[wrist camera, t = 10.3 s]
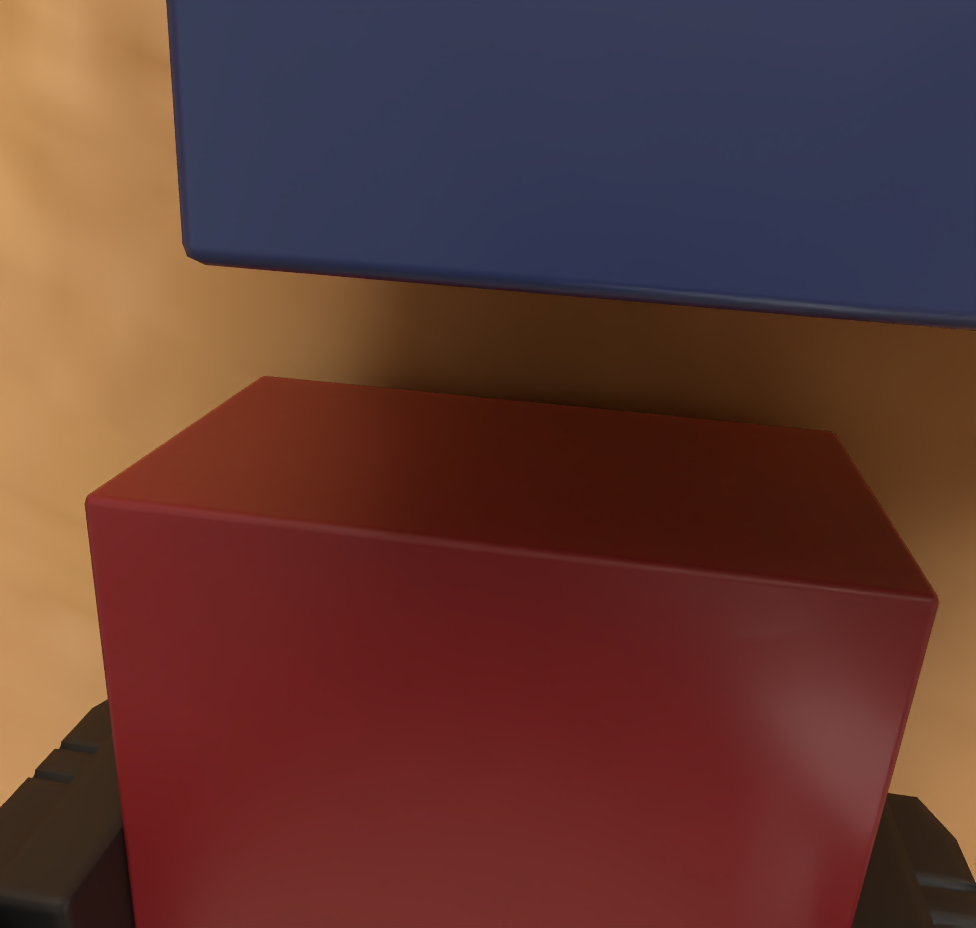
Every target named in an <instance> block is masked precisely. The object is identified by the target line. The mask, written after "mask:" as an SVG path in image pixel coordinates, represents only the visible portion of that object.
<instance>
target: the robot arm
mask: <svg viewBox="0 0 976 928" xmlns="http://www.w3.org/2000/svg"><path fill="white" fill-rule="evenodd" d="M0 928H135V921H134V913H133V905H132V896H131V888H130V879H129V871H128V863H127V854H126V846H125V838H124V829H123V821H122V812H121V804H120V796H119V787H118V779H117V771H116V762H115V754H114V746H113V737H112V729H111V720H110V712H109V704H108V700H106V701H104V702H102V703H101V704H99V705H97V706H96V707H94V708H92V709H91V710H90V711H89V712H88V713H87V715H86V716H85V717H84V718H83V719H82V720H81V721H80V722H79V723H78V724H77V725H76V726H75V728H74V729H73V730H72V731H71V732H70V733H69V734H68V735H67V736H66V737H65V738H64V739H63V740H62V742H61V746H60V748H59V749H54V750H53V751H52V752H51V753H50V755H49V756H48V757H47V758H46V759H45V760H44V761H43V762H42V763H41V764H40V765H39V766H38V767H37V769H36V770H35V775H34V777H33V778H29V777H28V778H27V779H26V780H25V782H24V783H23V784H22V785H21V786H20V787H19V788H18V789H17V790H16V791H15V792H14V793H13V795H12V796H11V797H10V798H9V799H8V800H7V801H6V802H5V803H4V804H3V805H2V806H1V807H0ZM851 928H976V883H975V881H974V878H973V876H972V874H971V872H970V869H969V867H968V865H967V863H966V860H965V858H964V856H963V854H962V851H961V849H960V847H959V845H958V842H957V840H956V839H955V837H954V836H953V835H952V834H951V833H950V832H949V831H948V830H947V829H946V828H945V827H944V826H943V825H942V824H941V822H940V821H939V820H938V819H937V818H936V817H935V816H934V815H933V814H932V813H931V812H930V811H929V810H928V809H927V807H926V806H925V805H924V804H923V803H922V802H921V801H920V800H919V799H918V798H917V797H911V796H905V795H898V794H891V793H887V797H886V801H885V804H884V808H883V812H882V815H881V819H880V823H879V827H878V830H877V834H876V838H875V841H874V845H873V849H872V852H871V856H870V860H869V864H868V867H867V871H866V875H865V878H864V882H863V886H862V889H861V893H860V897H859V901H858V904H857V908H856V912H855V915H854V919H853V923H852V927H851Z"/></svg>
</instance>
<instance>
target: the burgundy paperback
mask: <svg viewBox="0 0 976 928" xmlns="http://www.w3.org/2000/svg"><path fill="white" fill-rule="evenodd" d="M85 511H86V519H87V528H88V536H89V545H90V553H91V561H92V570H93V578H94V586H95V595H96V603H97V612H98V620H99V628H100V637H101V645H102V653H103V662H104V670H105V679H106V687H107V695H108V704H109V712H110V720H111V729H112V737H113V746H114V754H115V762H116V771H117V779H118V787H119V796H120V804H121V812H122V821H123V829H124V838H125V846H126V854H127V863H128V871H129V879H130V888H131V896H132V905H133V913H134V921H135V928H851V927H852V923H853V919H854V915H855V912H856V908H857V904H858V901H859V897H860V893H861V889H862V886H863V882H864V878H865V875H866V871H867V867H868V864H869V860H870V856H871V852H872V849H873V845H874V841H875V838H876V834H877V830H878V827H879V823H880V819H881V815H882V812H883V808H884V804H885V801H886V797H887V793H888V789H889V786H890V782H891V778H892V775H893V771H894V767H895V764H896V760H897V756H898V752H899V749H900V745H901V741H902V738H903V734H904V730H905V727H906V723H907V719H908V715H909V712H910V708H911V704H912V701H913V697H914V693H915V689H916V686H917V682H918V678H919V675H920V671H921V667H922V664H923V660H924V656H925V652H926V649H927V645H928V641H929V638H930V634H931V630H932V627H933V623H934V619H935V615H936V612H937V608H938V604H939V600H938V596H937V594H936V592H935V591H934V589H933V588H932V586H931V584H930V583H929V581H928V580H927V578H926V577H925V575H924V573H923V572H922V570H921V569H920V567H919V565H918V564H917V562H916V561H915V559H914V558H913V556H912V554H911V553H910V551H909V550H908V548H907V546H906V545H905V543H904V542H903V540H902V539H901V537H900V535H899V534H898V532H897V531H896V529H895V527H894V526H893V524H892V523H891V521H890V520H889V518H888V516H887V515H886V513H885V512H884V510H883V508H882V507H881V505H880V504H879V502H878V501H877V499H876V497H875V496H874V494H873V493H872V491H871V489H870V488H869V486H868V485H867V483H866V482H865V480H864V478H863V477H862V475H861V474H860V472H859V470H858V469H857V467H856V466H855V464H854V463H853V461H852V459H851V458H850V456H849V455H848V453H847V451H846V450H845V448H844V447H843V445H842V444H841V442H840V440H839V439H838V437H837V436H836V434H835V433H833V432H831V431H821V430H811V429H801V428H791V427H780V426H770V425H760V424H750V423H739V422H729V421H719V420H709V419H699V418H688V417H678V416H668V415H658V414H647V413H637V412H627V411H617V410H606V409H596V408H586V407H576V406H566V405H555V404H545V403H535V402H525V401H514V400H504V399H494V398H484V397H473V396H463V395H453V394H443V393H432V392H422V391H412V390H402V389H392V388H381V387H371V386H361V385H351V384H340V383H330V382H320V381H310V380H299V379H289V378H279V377H269V376H264V377H261V378H259V379H258V380H256V381H255V382H253V383H252V384H251V385H249V386H248V387H246V388H245V389H243V390H242V391H240V392H239V393H237V394H236V395H234V396H233V397H231V398H230V399H228V400H227V401H226V402H224V403H223V404H221V405H220V406H218V407H217V408H215V409H214V410H212V411H211V412H209V413H208V414H206V415H205V416H204V417H202V418H201V419H199V420H198V421H196V422H195V423H193V424H192V425H190V426H189V427H187V428H186V429H184V430H183V431H182V432H180V433H179V434H177V435H176V436H174V437H173V438H171V439H170V440H168V441H167V442H165V443H164V444H162V445H161V446H159V447H158V448H157V449H155V450H154V451H152V452H151V453H149V454H148V455H146V456H145V457H143V458H142V459H140V460H139V461H137V462H136V463H135V464H133V465H132V466H130V467H129V468H127V469H126V470H124V471H123V472H121V473H120V474H118V475H117V476H115V477H114V478H112V479H111V480H110V481H108V482H107V483H105V484H104V485H102V486H101V487H99V488H98V489H96V490H95V491H93V492H92V493H90V494H89V495H88V496H87V498H86V501H85Z"/></svg>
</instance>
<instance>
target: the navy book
mask: <svg viewBox="0 0 976 928" xmlns="http://www.w3.org/2000/svg"><path fill="white" fill-rule="evenodd" d="M166 3H167V18H168V33H169V49H170V64H171V79H172V94H173V109H174V124H175V139H176V154H177V169H178V184H179V199H180V214H181V229H182V244H183V246H184V249H185V252H186V254H187V256H188V257H190V258H192V259H194V260H196V261H198V262H200V263H203V264H205V265H213V266H224V267H236V268H248V269H260V270H271V271H283V272H295V273H306V274H318V275H330V276H341V277H353V278H365V279H377V280H388V281H400V282H412V283H423V284H435V285H447V286H458V287H470V288H482V289H494V290H505V291H517V292H529V293H540V294H552V295H564V296H576V297H587V298H599V299H611V300H622V301H634V302H646V303H657V304H669V305H681V306H693V307H704V308H716V309H728V310H739V311H751V312H763V313H774V314H786V315H798V316H810V317H821V318H833V319H845V320H856V321H868V322H880V323H891V324H903V325H915V326H927V327H938V328H950V329H962V330H973V331H976V0H166Z"/></svg>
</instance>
